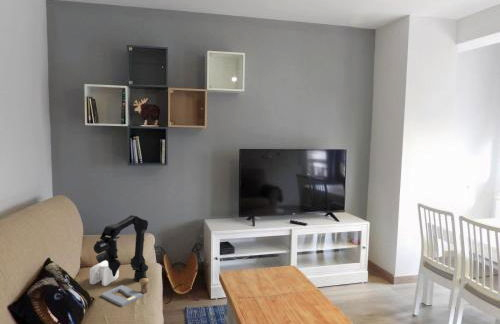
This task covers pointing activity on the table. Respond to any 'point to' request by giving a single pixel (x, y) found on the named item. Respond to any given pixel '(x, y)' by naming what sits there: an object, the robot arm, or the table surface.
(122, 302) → the keyhole board
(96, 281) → the cable organizer
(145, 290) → the peg
